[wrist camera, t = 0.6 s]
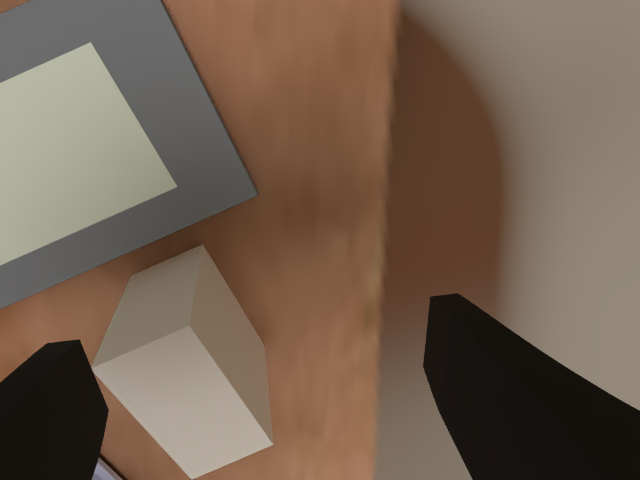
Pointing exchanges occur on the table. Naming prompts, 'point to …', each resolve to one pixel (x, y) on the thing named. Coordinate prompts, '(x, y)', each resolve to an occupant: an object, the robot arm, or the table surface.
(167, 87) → the mat
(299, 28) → the table surface
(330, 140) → the table surface
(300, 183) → the table surface
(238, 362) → the beige rectangular block
